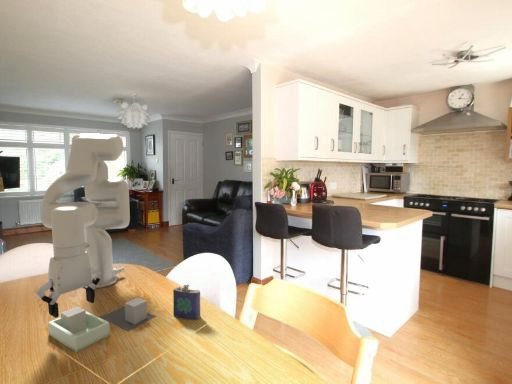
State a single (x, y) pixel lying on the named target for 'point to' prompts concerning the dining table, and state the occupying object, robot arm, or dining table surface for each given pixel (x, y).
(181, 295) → the flask
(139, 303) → the grey block
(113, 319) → the mat
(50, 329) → the bin
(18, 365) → the dining table surface
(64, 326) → the stone
